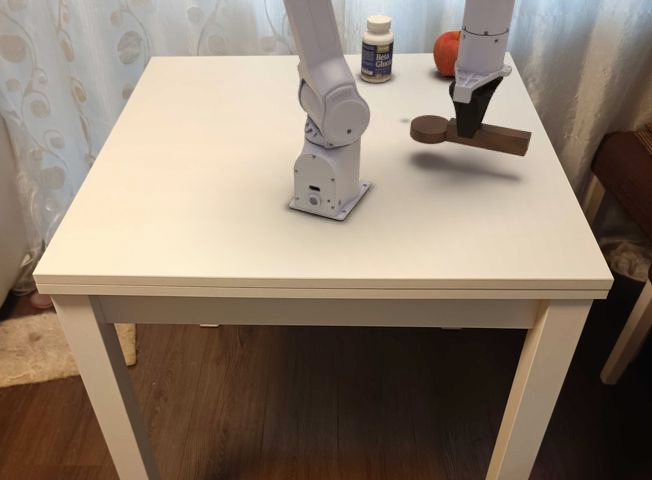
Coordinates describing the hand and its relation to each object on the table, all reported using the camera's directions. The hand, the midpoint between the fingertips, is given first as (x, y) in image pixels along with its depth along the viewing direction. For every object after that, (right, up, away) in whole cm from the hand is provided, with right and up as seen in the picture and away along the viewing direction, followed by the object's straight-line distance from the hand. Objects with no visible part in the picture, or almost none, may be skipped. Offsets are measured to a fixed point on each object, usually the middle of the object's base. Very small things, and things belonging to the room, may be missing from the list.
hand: (468, 132), depth 87 cm
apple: (+4, +19, +26) cm, 32 cm away
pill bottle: (-10, +19, +26) cm, 34 cm away
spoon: (0, -1, +1) cm, 1 cm away
